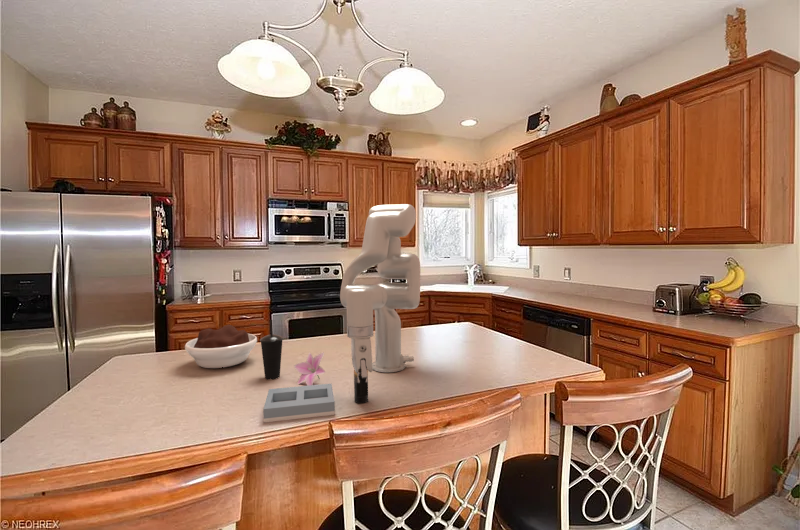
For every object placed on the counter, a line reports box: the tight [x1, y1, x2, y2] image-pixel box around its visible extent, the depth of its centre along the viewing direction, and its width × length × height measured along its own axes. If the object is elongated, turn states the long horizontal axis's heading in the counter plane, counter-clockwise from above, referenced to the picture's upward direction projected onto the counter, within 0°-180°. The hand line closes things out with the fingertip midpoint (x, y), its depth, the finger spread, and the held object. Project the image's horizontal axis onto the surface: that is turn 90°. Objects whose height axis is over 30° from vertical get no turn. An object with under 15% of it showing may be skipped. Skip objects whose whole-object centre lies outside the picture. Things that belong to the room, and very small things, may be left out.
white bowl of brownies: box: [184, 324, 258, 369], centre depth 144 cm, size 25×25×15 cm
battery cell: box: [353, 369, 369, 404], centre depth 109 cm, size 4×4×10 cm
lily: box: [293, 351, 326, 386], centre depth 124 cm, size 12×12×10 cm
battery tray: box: [262, 383, 336, 423], centre depth 105 cm, size 18×14×4 cm
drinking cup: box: [259, 319, 284, 380], centre depth 129 cm, size 8×8×20 cm
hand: (361, 392), depth 109 cm, fingers closed on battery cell, 4 cm apart
